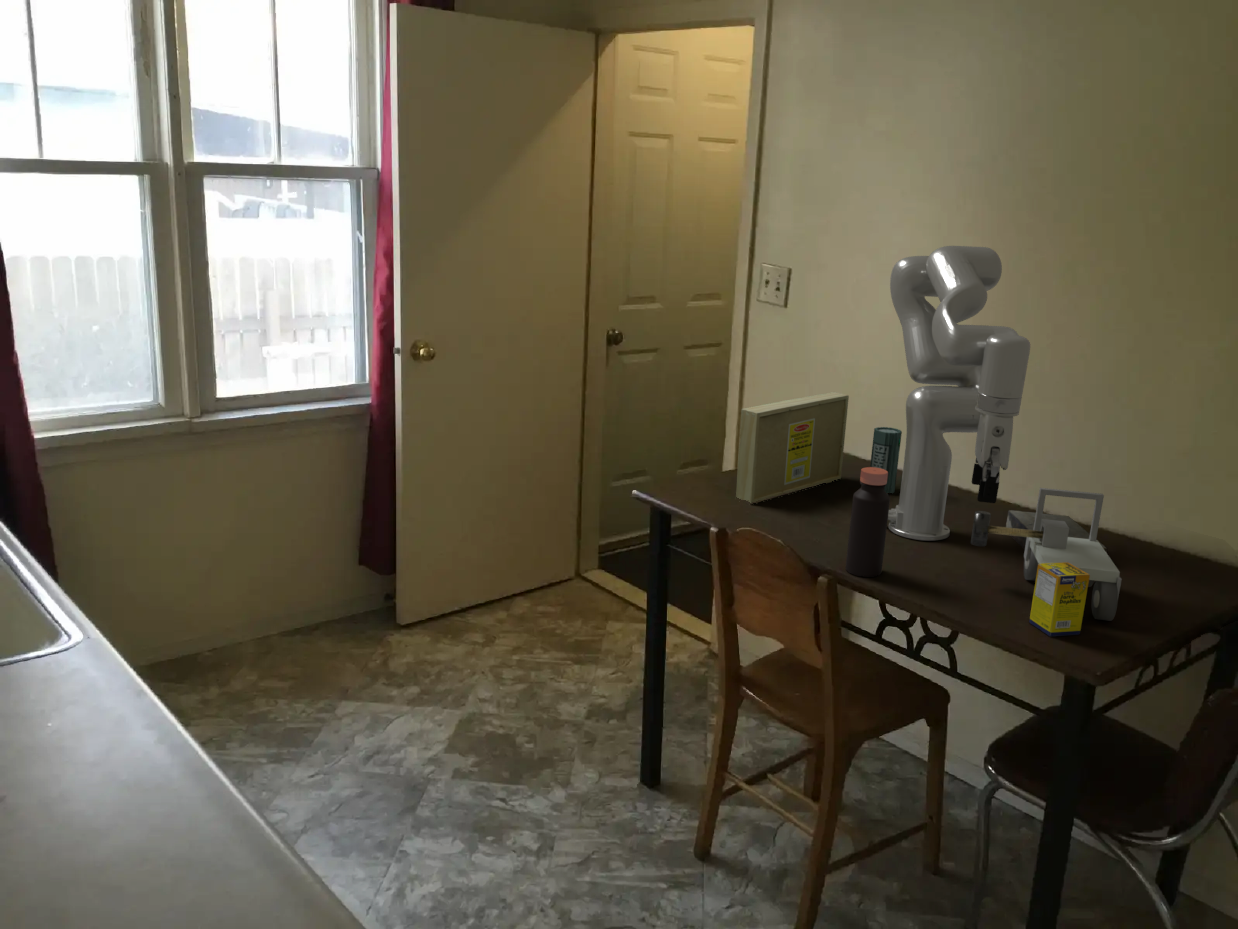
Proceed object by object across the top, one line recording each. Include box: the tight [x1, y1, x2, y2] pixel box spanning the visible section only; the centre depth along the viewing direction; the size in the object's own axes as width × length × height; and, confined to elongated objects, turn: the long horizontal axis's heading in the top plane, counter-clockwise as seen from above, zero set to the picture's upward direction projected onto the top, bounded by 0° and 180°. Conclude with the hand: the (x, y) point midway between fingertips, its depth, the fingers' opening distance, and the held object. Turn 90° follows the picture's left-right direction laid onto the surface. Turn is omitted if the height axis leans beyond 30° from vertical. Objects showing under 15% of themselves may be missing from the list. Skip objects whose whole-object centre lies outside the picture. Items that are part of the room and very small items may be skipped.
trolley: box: [1023, 487, 1123, 622], centre depth 188 cm, size 13×23×18 cm, turn 168°
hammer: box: [970, 510, 1044, 547], centre depth 193 cm, size 12×3×6 cm, turn 78°
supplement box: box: [1028, 562, 1090, 637], centre depth 175 cm, size 6×6×11 cm
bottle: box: [845, 466, 891, 578], centre depth 196 cm, size 7×7×20 cm
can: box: [869, 426, 903, 494], centre depth 250 cm, size 6×6×15 cm
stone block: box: [1005, 509, 1108, 553], centre depth 217 cm, size 14×20×5 cm
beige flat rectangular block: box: [735, 391, 850, 503], centre depth 246 cm, size 35×5×22 cm, turn 133°
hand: (983, 493), depth 193 cm, fingers open, 9 cm apart
